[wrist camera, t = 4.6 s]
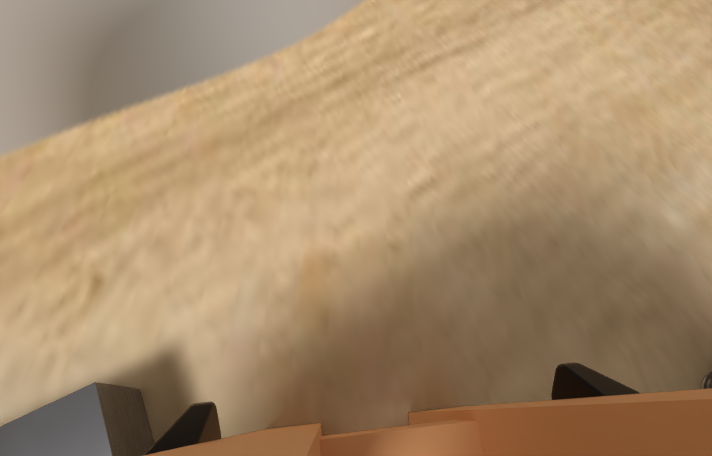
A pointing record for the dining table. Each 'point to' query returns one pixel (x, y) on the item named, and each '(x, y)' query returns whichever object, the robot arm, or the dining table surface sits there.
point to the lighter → (707, 382)
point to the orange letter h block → (504, 431)
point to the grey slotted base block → (82, 425)
